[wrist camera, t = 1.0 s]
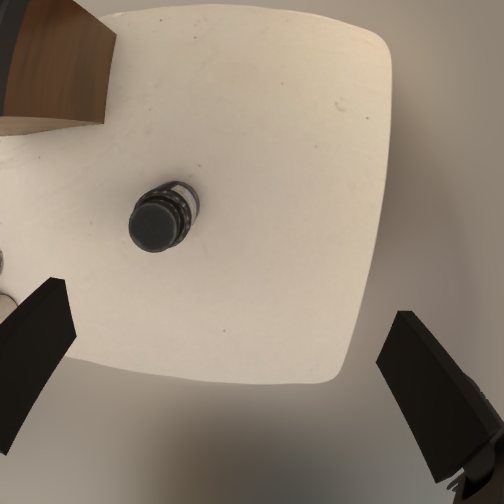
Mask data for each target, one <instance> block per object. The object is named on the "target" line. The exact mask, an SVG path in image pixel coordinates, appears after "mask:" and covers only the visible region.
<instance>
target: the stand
mask: <svg viewBox="0 0 504 504" xmlns="http://www.w3.org/2000/svg"><path fill="white" fill-rule="evenodd" d="M115 40H116V34H115V33H114V32H112V31H111V30H110V29H109V28H108V27H106V26H105V25H104V24H103V23H101V22H100V21H99V20H98V19H96V18H95V17H94V16H93V15H91V14H90V13H89V12H88V11H86V10H85V9H83V8H82V7H81V6H80V5H78V4H77V3H76V2H74V1H73V0H30V1H29V3H28V6H27V9H26V12H25V14H24V17H23V20H22V23H21V27H20V30H19V33H18V37H17V40H16V44H15V48H14V52H13V56H12V60H11V65H10V70H9V75H8V80H7V86H6V93H5V100H4V108H3V116H2V117H0V136H13V135H26V134H32V133H37V132H43V131H49V130H55V129H61V128H69V127H76V126H85V125H94V124H104V115H105V105H106V96H107V88H108V80H109V74H110V67H111V61H112V56H113V50H114V45H115Z"/></svg>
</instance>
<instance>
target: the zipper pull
mask: <svg viewBox="0 0 504 504" xmlns="http://www.w3.org/2000/svg"><path fill="white" fill-rule="evenodd" d="M2 270H3V256H2V252H1V250H0V275H1V273H2Z"/></svg>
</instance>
